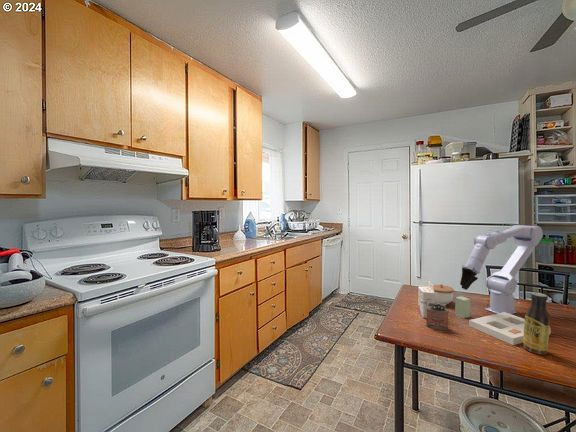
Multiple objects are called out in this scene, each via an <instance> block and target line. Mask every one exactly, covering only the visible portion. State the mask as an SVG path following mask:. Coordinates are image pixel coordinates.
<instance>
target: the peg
mask: <svg viewBox="0 0 576 432" xmlns="http://www.w3.org/2000/svg"><path fill="white" fill-rule="evenodd" d="M454 302H455V304H454V305H455V309H454V314H455V316H457V317H460V318H461V319H467V318H470V317H471V298H468V297H465V296H457V297H455V301H454Z"/></svg>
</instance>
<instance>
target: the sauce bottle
mask: <svg viewBox="0 0 576 432" xmlns="http://www.w3.org/2000/svg"><path fill="white" fill-rule="evenodd" d="M530 297H531V302H530V306H529V307H528V309H527V311H526V313H525V315H524V319H525V323H524V336H523V343H522V344H523V345H522V346H523V348H524V349H525V350H527V351H528V352H530V353H532V354H536V355H541V356H542V355H546V354H547V353H548V350H549V339H550V335H549V330H550V328H551V327H550V326H551V324H550V323H551V316H550V314H549V312H548V310H547V301H548V295H547V294H544V293H541V292H535V291H533V292H531V294H530Z"/></svg>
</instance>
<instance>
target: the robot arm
mask: <svg viewBox="0 0 576 432" xmlns="http://www.w3.org/2000/svg"><path fill="white" fill-rule="evenodd" d="M543 237H544V234H543V229H542V227H541V226H539V225H522V224H515V225H512V226H511V227H509V228H507V229H505V230H503V231H502V230H500V229H499V230H498V229H494V230H493V231H492V232H490V233H489V232H487V233H486V234H484V235H481V234H479V235H477V236H476V237H474V238H473V246H472V251H471V252H470V254H469V256H468V258H467V260H466V263H465V265H464V264H461V278H460V282H459V283H460V284H459V285H460V286H461V289H463V290H466V291H467V290H468V289H469V288H471V287H470V286H471V285H472V284H473V283H475V282H476V281H478V279H479V277H477V275H479V274H480V273H481V270H482V268H483V266H484V263H485V261H486V259H487V257H488V256H489V253H490V250H494V249H496V248H497V246H498V245H500V244H504V243H506V242H507V240H508V239H510V238H513V241H514V243H515V244H516V245H517V247H516V248H515V250H514V252H513V253H512V254H511V255H510V257H509V259H508V260H507V261H506V263H505V264H504V266H502V268H501V270H499V271H495V272H492V274H491V275H490V276H488V277H487V278H486V280H485V286H486V288H487V289H488V291H489V307H485V311H489V312H491V313H495V314H498V313H503V312H506V313H509V314H512V315H514V314H516V313H517V310H516V311H515V302H516V300H515V296H514V293H515V292H516V289H517V286H518V284H519V282H518V281H517V280H516V278H515V277H516V275H517V274H518V273H519V272H520V269H521V268H522V267H523V266H524V264H525V262H526V261H527V260H528V259H529V257H530V255H531V254H532V253H533V252H534V249H535V248H536V247H537V246H538V244H539V243H540V242H541V240H542V238H543Z"/></svg>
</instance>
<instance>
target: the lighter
mask: <svg viewBox="0 0 576 432" xmlns="http://www.w3.org/2000/svg"><path fill="white" fill-rule="evenodd" d="M428 306H432V307H427V308H426V310H427V318H426V323H425V327H426V328H429V329H430V328H431V329H433V330H434V329H435V330H443V331H444V330H449V312H450V310H449V309H447V308H446V305H444V304H440V303H428ZM434 307H435V308H434Z"/></svg>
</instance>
